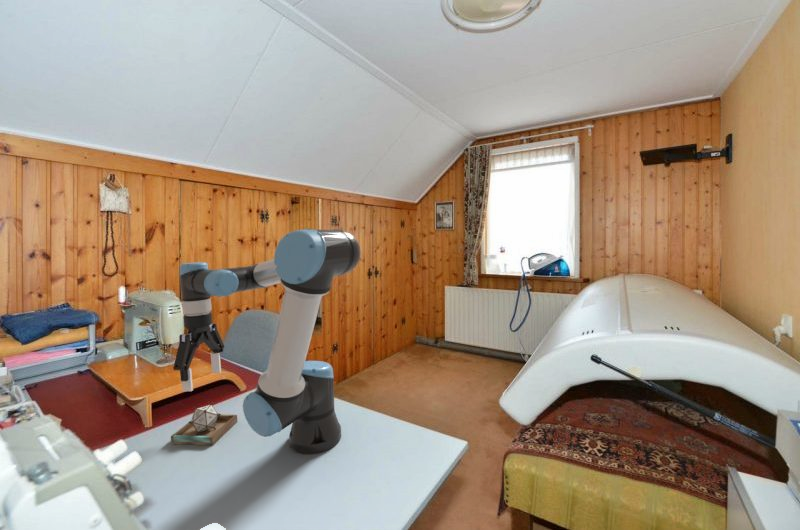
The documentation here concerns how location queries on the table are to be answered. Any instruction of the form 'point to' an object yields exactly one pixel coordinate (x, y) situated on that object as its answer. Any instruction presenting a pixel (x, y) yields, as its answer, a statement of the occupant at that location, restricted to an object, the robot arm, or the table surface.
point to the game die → (204, 418)
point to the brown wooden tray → (204, 432)
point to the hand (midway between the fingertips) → (203, 381)
